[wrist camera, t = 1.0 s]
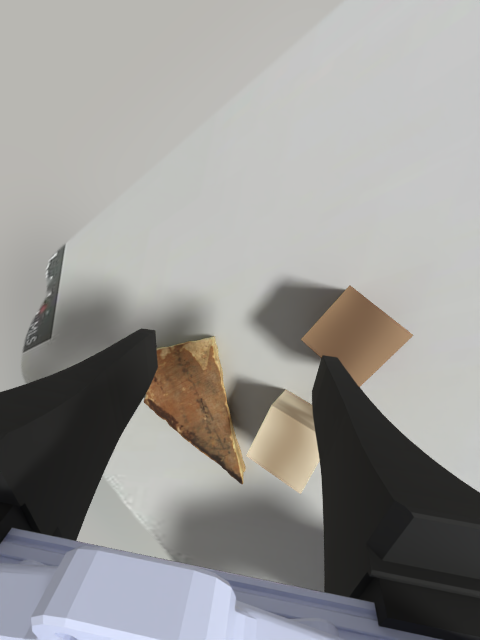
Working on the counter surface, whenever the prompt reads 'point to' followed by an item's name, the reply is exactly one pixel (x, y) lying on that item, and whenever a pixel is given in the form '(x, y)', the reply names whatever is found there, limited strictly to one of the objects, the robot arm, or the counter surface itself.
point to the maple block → (287, 441)
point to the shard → (196, 401)
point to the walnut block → (356, 335)
